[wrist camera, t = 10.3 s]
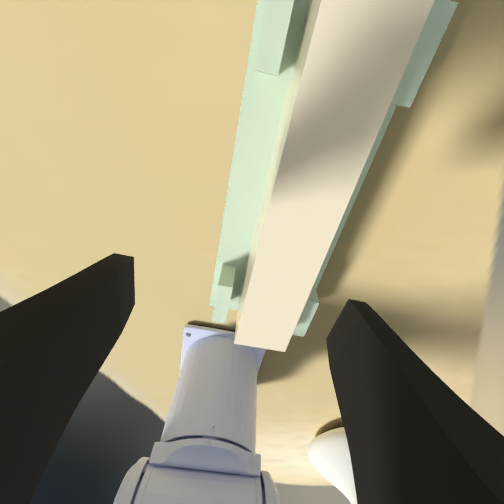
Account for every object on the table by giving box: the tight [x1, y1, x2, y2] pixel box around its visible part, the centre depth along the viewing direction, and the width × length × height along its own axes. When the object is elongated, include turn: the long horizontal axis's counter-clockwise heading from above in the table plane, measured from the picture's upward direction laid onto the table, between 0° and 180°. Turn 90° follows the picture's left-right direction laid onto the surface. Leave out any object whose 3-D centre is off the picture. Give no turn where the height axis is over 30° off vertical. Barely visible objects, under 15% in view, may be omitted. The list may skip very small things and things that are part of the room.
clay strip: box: [234, 0, 435, 352], centre depth 15 cm, size 18×4×4 cm, turn 169°
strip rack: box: [209, 0, 458, 337], centre depth 16 cm, size 21×8×4 cm, turn 169°
